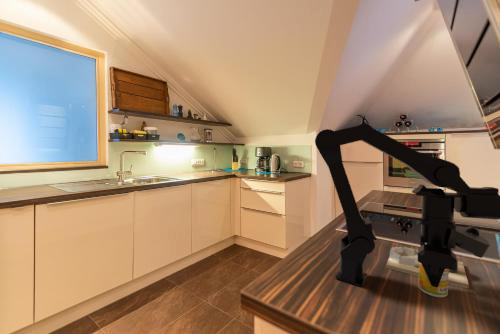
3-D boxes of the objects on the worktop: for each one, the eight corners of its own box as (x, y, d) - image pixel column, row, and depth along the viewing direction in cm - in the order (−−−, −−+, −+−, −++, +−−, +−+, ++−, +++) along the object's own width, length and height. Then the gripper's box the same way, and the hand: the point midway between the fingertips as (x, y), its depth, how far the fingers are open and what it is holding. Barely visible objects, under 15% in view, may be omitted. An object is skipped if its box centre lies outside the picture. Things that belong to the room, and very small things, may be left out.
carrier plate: (468, 289, 56) (468, 284, 56) (386, 267, 66) (386, 264, 66) (462, 265, 67) (462, 262, 67) (392, 250, 77) (392, 247, 77)
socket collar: (425, 269, 63) (426, 262, 62) (388, 261, 68) (388, 254, 68) (426, 258, 69) (426, 251, 69) (392, 250, 75) (392, 244, 75)
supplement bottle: (419, 281, 59) (420, 244, 58) (447, 289, 55) (449, 249, 55) (417, 292, 55) (419, 251, 54) (447, 301, 51) (449, 258, 51)
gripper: (496, 234, 41) (491, 318, 42) (479, 211, 56) (475, 274, 57) (418, 223, 48) (416, 296, 49) (421, 205, 63) (419, 261, 64)
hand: (434, 280), depth 55 cm, fingers closed on supplement bottle, 5 cm apart
